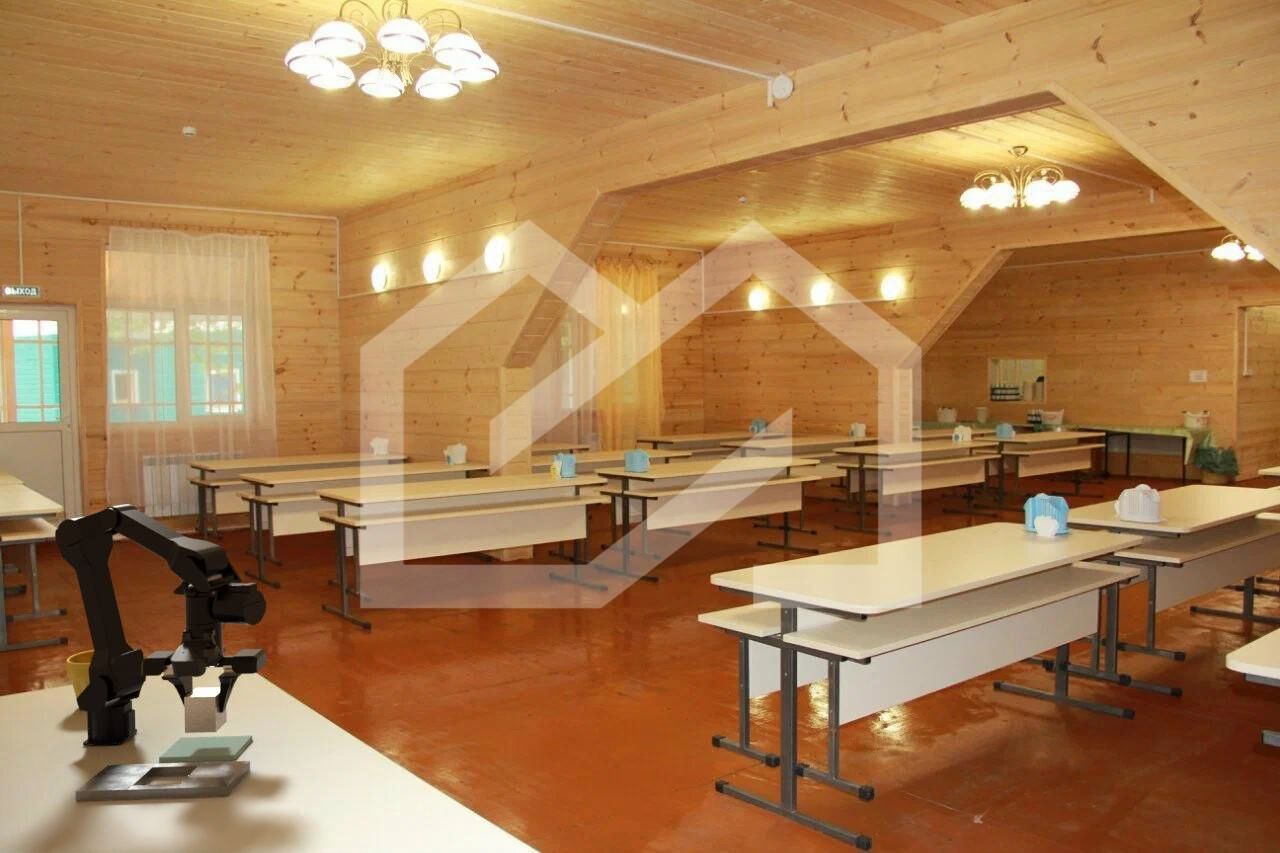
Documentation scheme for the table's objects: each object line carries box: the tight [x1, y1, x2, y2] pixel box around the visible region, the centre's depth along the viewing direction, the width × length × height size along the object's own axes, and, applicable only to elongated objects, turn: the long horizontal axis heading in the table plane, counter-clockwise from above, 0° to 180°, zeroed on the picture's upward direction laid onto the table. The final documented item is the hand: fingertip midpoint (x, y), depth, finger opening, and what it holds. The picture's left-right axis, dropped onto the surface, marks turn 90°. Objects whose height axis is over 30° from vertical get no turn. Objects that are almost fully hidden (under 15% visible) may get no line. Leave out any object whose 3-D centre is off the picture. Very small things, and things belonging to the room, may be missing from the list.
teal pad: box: [158, 735, 253, 763], centre depth 163 cm, size 12×9×1 cm
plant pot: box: [65, 649, 94, 699], centre depth 186 cm, size 10×10×10 cm
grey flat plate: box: [75, 760, 251, 802], centre depth 149 cm, size 22×10×2 cm, turn 94°
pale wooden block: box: [183, 686, 228, 734], centre depth 163 cm, size 5×5×6 cm
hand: (205, 712), depth 163 cm, fingers closed on pale wooden block, 5 cm apart
